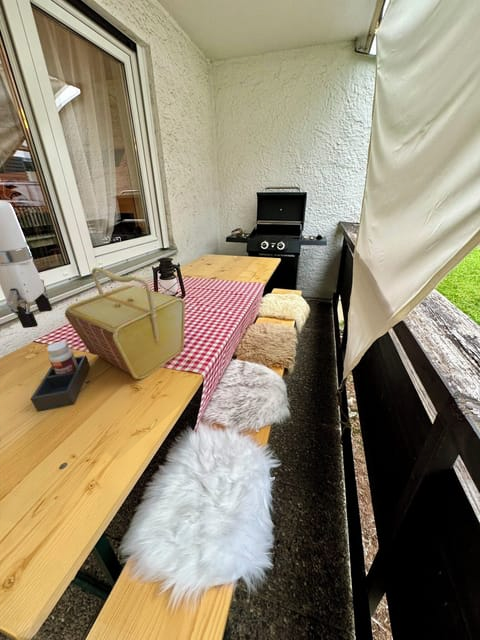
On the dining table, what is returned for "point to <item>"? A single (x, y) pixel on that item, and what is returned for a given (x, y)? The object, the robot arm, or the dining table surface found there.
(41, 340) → the dining table surface
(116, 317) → the picnic basket
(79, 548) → the dining table surface
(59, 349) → the pill bottle
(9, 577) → the dining table surface
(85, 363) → the holder
